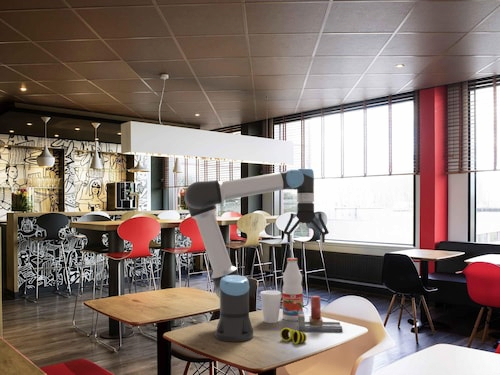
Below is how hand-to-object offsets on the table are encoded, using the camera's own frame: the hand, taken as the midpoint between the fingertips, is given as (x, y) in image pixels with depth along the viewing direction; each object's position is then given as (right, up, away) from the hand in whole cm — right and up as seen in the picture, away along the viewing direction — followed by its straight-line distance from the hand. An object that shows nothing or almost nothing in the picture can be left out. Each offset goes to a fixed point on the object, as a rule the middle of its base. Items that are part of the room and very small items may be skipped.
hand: (306, 249), depth 192 cm
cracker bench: (+4, -32, -10) cm, 34 cm away
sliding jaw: (+3, -30, -10) cm, 32 cm away
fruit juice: (-5, -33, +7) cm, 34 cm away
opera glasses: (-8, -32, -28) cm, 43 cm away
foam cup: (-16, -33, +2) cm, 37 cm away
